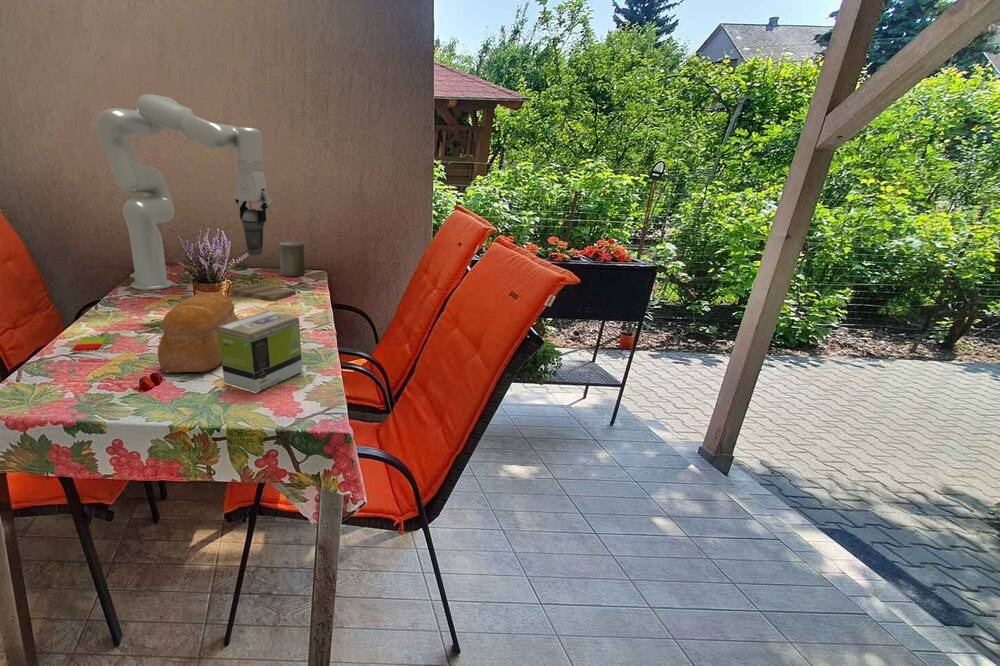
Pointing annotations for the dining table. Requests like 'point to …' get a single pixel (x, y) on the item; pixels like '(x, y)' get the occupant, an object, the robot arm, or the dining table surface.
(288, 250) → the pillar candle
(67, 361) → the dining table surface
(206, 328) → the bread
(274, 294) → the walnut board
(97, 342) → the popsicle
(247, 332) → the tea box
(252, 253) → the beverage cup
